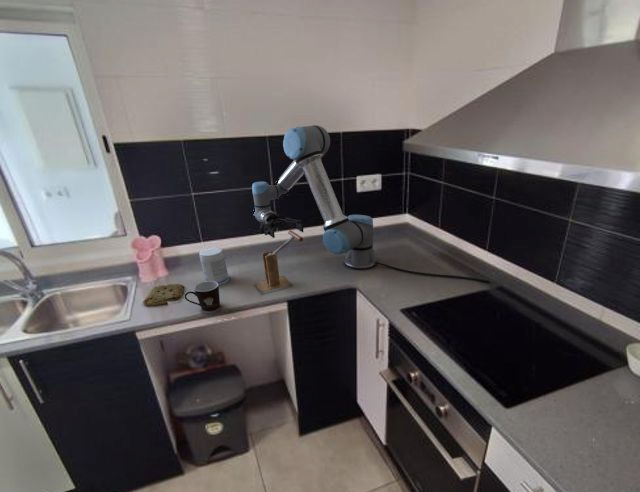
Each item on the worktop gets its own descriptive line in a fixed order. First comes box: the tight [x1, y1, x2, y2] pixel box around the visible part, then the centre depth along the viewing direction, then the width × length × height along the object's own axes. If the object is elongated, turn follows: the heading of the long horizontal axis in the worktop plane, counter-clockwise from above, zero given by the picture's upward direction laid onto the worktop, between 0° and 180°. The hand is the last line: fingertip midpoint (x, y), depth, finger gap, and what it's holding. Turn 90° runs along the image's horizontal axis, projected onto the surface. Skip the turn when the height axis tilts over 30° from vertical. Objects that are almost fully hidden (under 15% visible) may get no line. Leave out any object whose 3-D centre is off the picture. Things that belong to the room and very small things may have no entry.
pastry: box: [142, 283, 185, 307], centre depth 153 cm, size 17×17×3 cm
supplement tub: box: [198, 247, 230, 286], centre depth 162 cm, size 10×10×15 cm
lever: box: [265, 229, 304, 258], centre depth 157 cm, size 16×11×2 cm
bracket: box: [254, 250, 293, 292], centre depth 158 cm, size 13×10×15 cm
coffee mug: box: [184, 280, 221, 312], centre depth 142 cm, size 12×9×10 cm
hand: (288, 231), depth 165 cm, fingers open, 13 cm apart
